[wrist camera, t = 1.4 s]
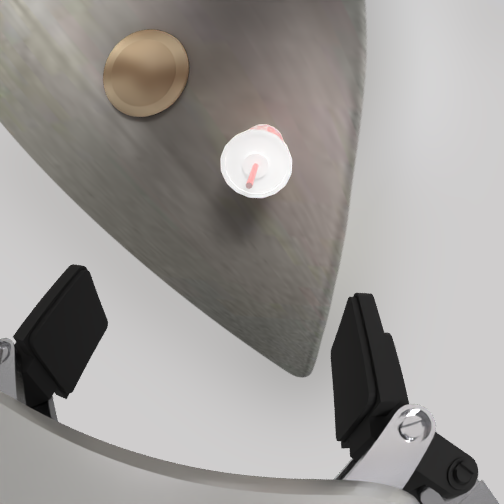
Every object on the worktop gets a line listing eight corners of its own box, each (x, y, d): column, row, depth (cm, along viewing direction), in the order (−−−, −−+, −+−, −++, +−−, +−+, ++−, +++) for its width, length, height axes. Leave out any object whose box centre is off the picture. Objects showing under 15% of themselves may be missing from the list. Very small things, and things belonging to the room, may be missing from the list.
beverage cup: (296, 124, 30) (304, 153, 18) (283, 174, 33) (282, 233, 21) (241, 112, 30) (212, 134, 18) (232, 163, 33) (200, 215, 21)
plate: (106, 40, 25) (102, 39, 24) (190, 24, 24) (187, 22, 23) (108, 119, 31) (104, 121, 30) (189, 113, 30) (186, 114, 29)
